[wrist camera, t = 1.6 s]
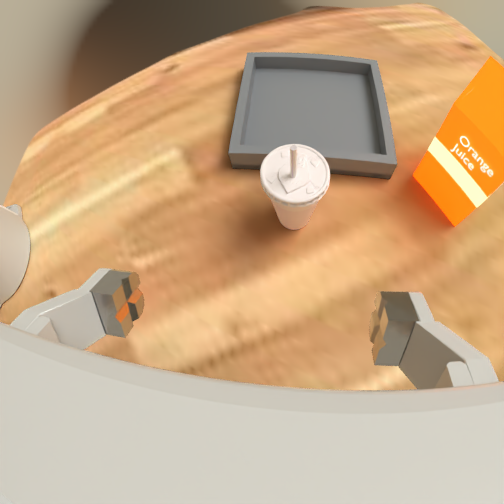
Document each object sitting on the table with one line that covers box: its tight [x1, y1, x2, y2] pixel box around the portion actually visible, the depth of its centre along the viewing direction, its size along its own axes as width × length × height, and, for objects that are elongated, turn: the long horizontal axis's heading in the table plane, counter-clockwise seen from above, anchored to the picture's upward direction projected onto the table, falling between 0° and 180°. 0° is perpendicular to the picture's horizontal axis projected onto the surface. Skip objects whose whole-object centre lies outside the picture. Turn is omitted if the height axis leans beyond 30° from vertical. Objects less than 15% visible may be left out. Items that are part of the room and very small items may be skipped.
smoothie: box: [260, 144, 330, 230], centre depth 30 cm, size 6×6×14 cm
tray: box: [228, 52, 397, 179], centre depth 40 cm, size 20×20×4 cm
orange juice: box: [413, 56, 504, 227], centre depth 26 cm, size 8×9×20 cm
